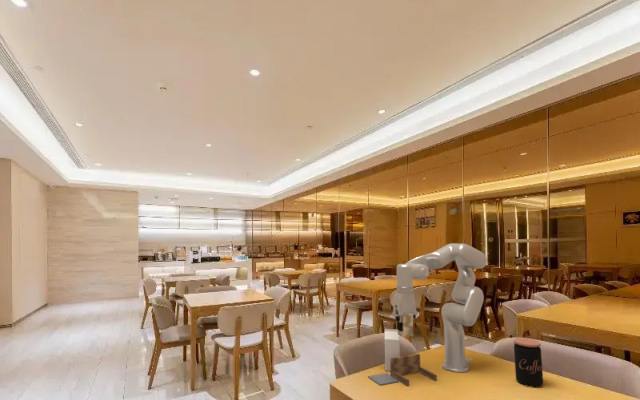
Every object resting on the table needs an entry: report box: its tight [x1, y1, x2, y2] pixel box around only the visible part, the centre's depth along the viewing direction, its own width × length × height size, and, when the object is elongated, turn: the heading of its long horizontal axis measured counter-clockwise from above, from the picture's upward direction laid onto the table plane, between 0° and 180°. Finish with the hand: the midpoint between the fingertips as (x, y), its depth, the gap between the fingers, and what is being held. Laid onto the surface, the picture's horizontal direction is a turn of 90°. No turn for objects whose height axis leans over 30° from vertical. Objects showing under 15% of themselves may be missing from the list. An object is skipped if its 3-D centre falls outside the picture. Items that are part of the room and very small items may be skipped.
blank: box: [397, 314, 414, 338], centre depth 163 cm, size 5×5×10 cm
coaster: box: [367, 372, 400, 386], centre depth 159 cm, size 10×10×1 cm
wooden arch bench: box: [390, 353, 438, 387], centre depth 161 cm, size 16×13×8 cm
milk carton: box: [384, 328, 401, 372], centre depth 174 cm, size 7×7×19 cm
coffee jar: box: [513, 337, 544, 388], centre depth 157 cm, size 11×11×18 cm
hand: (405, 329), depth 162 cm, fingers closed on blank, 5 cm apart
